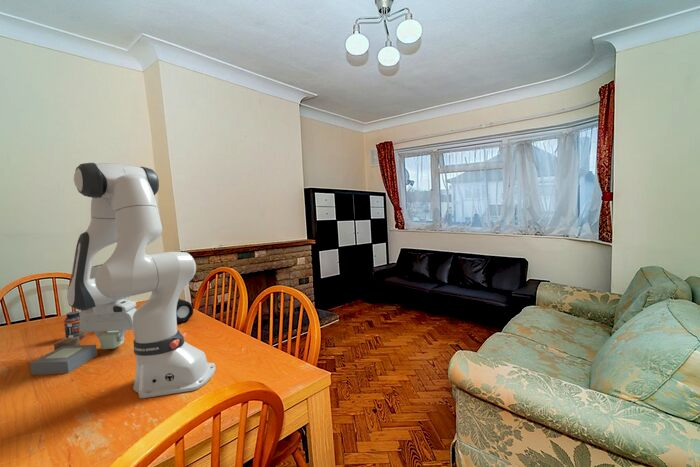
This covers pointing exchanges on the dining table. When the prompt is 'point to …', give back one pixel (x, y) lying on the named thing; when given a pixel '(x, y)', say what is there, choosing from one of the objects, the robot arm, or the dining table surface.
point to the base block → (63, 359)
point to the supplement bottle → (73, 325)
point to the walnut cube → (67, 342)
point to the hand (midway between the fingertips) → (112, 341)
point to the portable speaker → (183, 310)
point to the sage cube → (110, 340)
